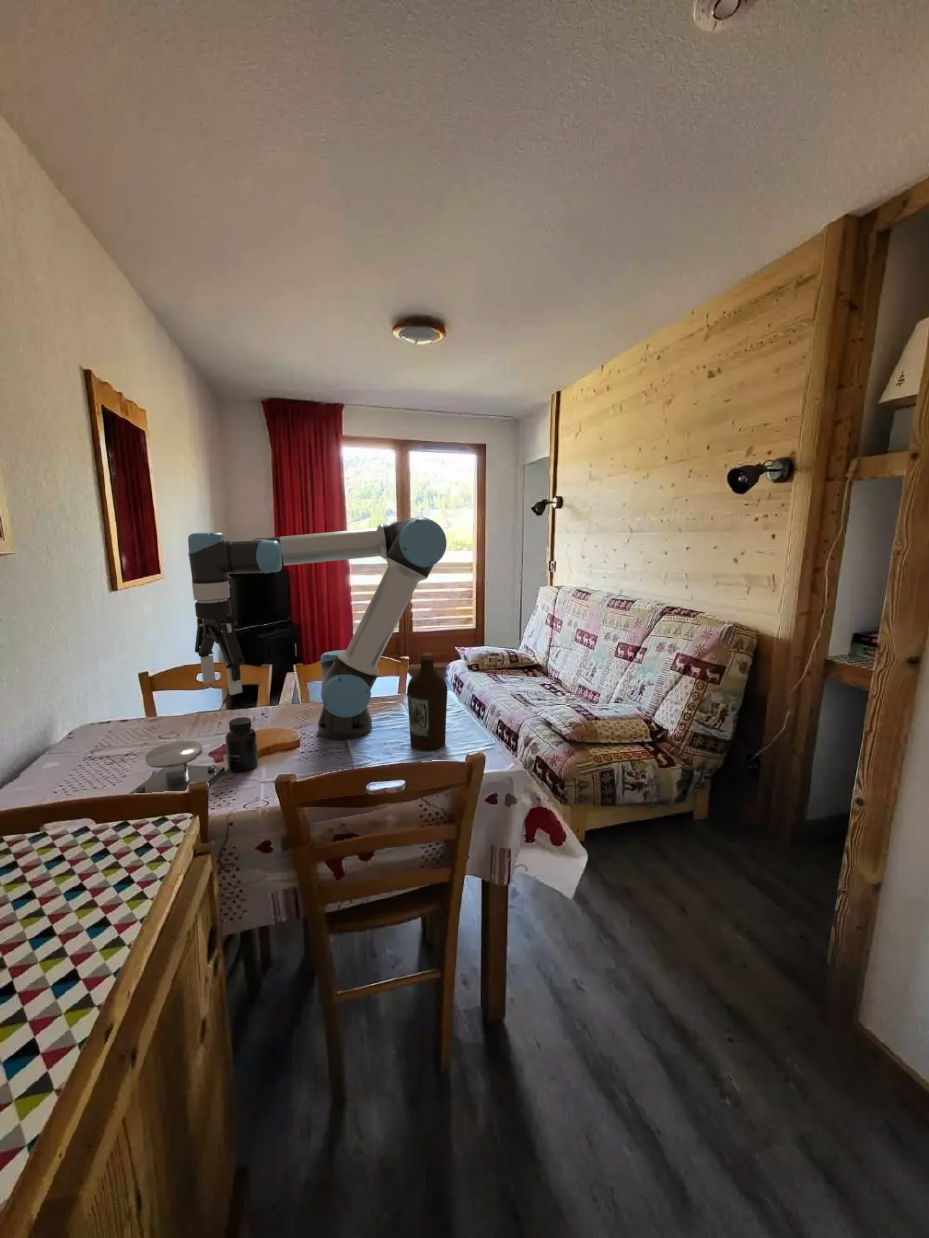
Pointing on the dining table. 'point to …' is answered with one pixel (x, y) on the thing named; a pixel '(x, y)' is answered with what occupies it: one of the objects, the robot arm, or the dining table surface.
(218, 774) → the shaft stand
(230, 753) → the supplement bottle
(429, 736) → the olive oil
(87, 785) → the dining table surface
